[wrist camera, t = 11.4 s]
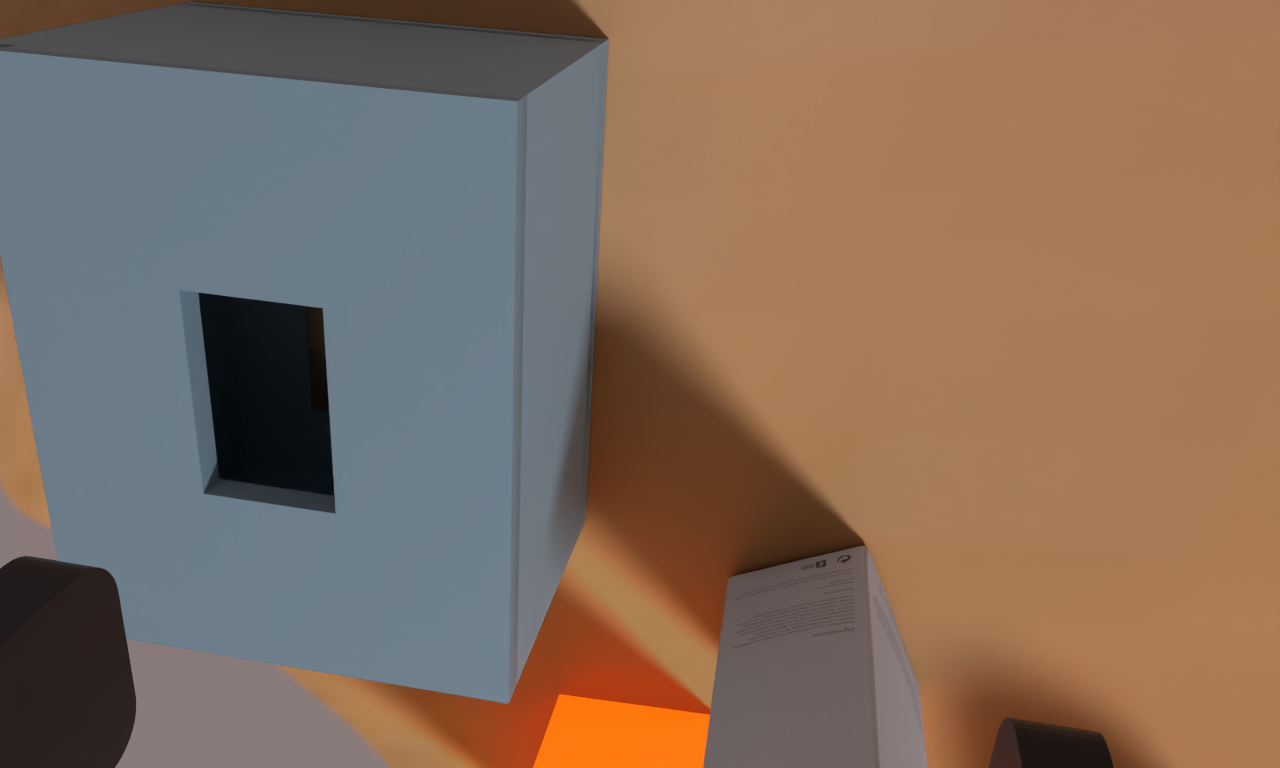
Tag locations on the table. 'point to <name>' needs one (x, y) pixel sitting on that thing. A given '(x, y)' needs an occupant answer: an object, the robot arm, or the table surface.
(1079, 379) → the table surface
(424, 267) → the box
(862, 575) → the skincare box
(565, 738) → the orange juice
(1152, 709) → the table surface
